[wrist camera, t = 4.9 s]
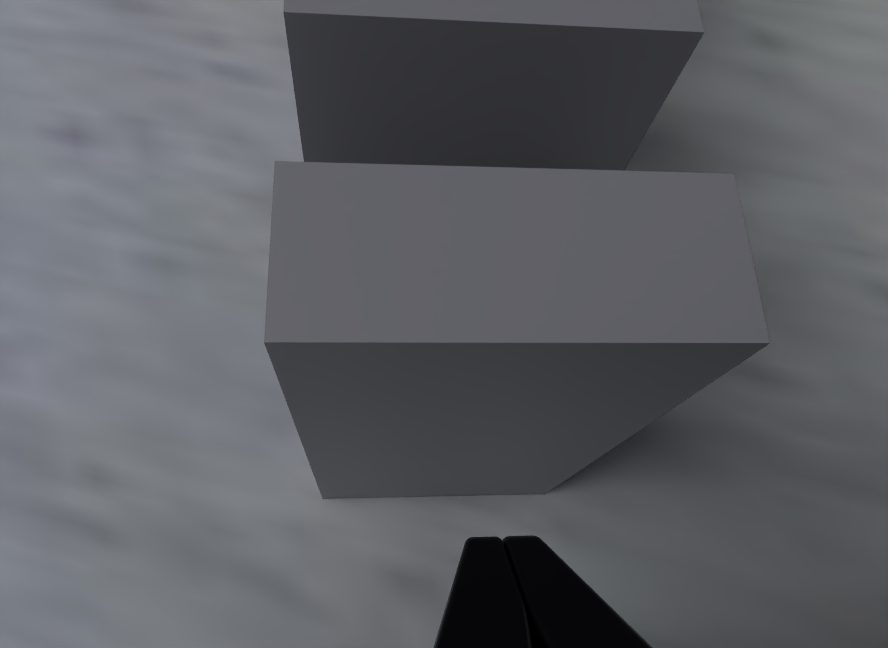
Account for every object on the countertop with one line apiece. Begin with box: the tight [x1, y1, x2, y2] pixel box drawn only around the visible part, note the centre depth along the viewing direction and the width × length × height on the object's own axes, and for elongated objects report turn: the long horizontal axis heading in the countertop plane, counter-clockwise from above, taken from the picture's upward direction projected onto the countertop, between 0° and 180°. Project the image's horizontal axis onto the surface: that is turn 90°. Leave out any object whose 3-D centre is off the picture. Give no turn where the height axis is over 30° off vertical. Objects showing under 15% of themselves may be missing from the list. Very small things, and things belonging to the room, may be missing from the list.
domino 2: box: [264, 161, 770, 499], centre depth 12 cm, size 2×5×10 cm, turn 92°
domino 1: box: [284, 0, 704, 171], centre depth 14 cm, size 2×5×10 cm, turn 93°
